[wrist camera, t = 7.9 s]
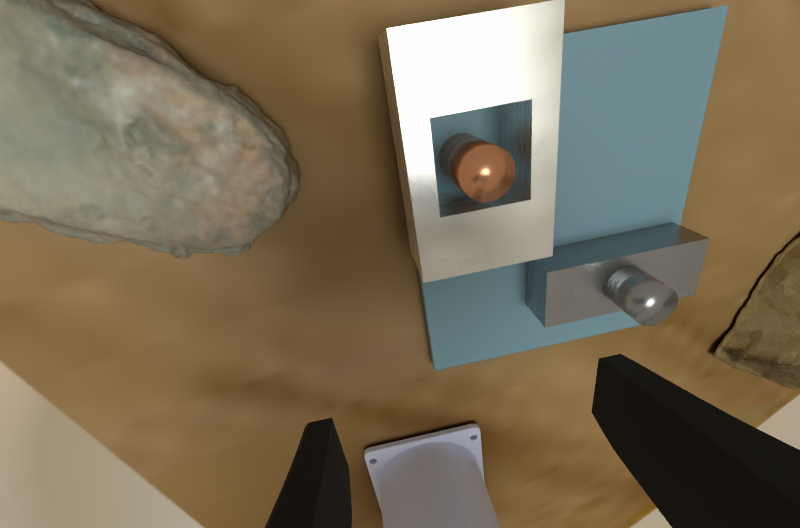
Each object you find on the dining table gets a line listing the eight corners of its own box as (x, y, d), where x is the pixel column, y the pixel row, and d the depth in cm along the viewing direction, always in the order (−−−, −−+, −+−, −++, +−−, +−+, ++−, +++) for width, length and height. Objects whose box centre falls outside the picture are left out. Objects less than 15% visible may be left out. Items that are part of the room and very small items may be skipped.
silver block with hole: (522, 13, 14) (564, -2, 11) (521, 230, 18) (552, 256, 16) (377, 38, 14) (386, 28, 11) (411, 252, 18) (423, 283, 15)
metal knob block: (650, 268, 21) (731, 317, 17) (519, 296, 21) (566, 354, 17) (660, 217, 20) (751, 256, 16) (518, 246, 19) (571, 295, 15)
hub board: (649, 313, 23) (658, 320, 22) (432, 361, 22) (434, 370, 22) (711, 8, 16) (728, 5, 15) (387, 64, 15) (390, 63, 14)
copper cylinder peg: (484, 175, 17) (515, 196, 14) (441, 183, 16) (463, 207, 14) (481, 129, 16) (515, 141, 13) (436, 137, 16) (459, 151, 13)
